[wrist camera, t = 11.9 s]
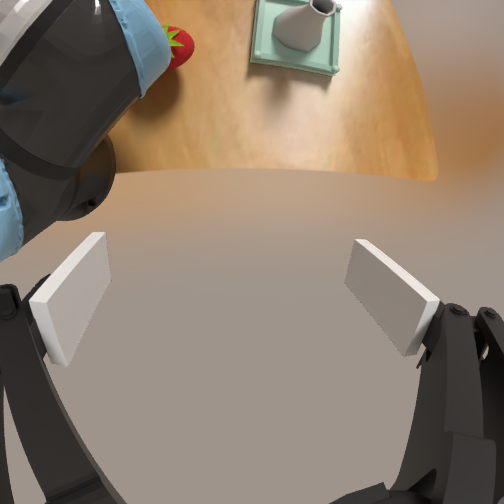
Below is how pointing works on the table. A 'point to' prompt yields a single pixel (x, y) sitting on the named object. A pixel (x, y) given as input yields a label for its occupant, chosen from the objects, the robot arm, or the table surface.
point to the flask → (303, 24)
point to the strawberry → (178, 45)
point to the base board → (275, 53)
